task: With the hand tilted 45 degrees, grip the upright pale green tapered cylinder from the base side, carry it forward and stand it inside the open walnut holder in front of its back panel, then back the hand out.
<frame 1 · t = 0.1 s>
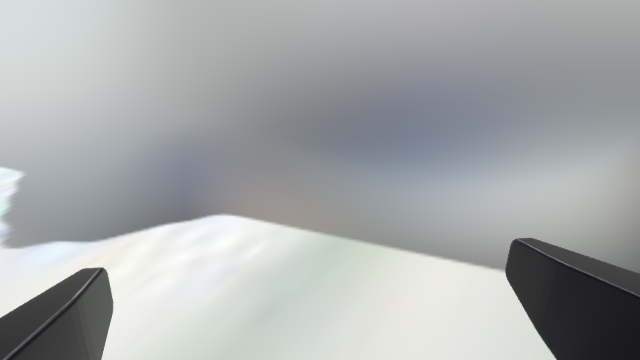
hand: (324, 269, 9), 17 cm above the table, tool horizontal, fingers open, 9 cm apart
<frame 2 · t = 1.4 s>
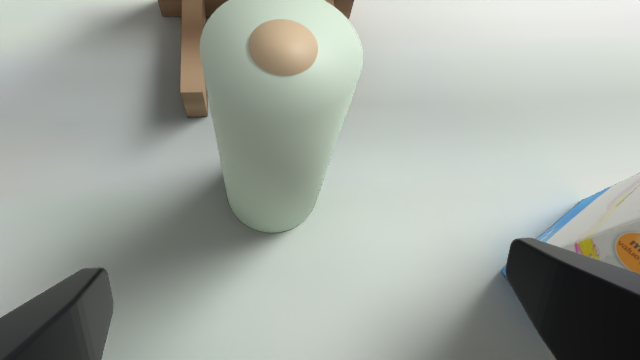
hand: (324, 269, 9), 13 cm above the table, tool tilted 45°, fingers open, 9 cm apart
holder: (262, 58, 28), on the table
ink box: (591, 292, 25), on the table
pale green tapered cylinder: (272, 189, 24), on the table
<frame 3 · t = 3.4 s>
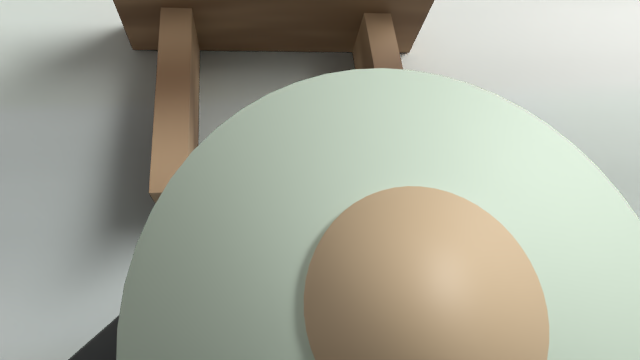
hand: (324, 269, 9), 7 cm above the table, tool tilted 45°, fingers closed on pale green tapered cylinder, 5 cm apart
holder: (283, 116, 18), on the table
pale green tapered cylinder: (301, 347, 15), on the table, touching gripper
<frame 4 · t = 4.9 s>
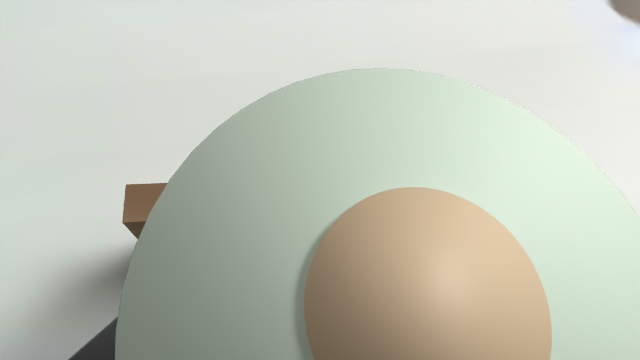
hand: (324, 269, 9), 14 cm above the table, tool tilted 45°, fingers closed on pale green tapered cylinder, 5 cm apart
holder: (286, 322, 22), on the table
pale green tapered cylinder: (302, 348, 15), point 8 cm above the table, touching gripper
when the fingers open (8 cm above the table, at t = 6.8 s): pale green tapered cylinder drops 1 cm, resting in holder.
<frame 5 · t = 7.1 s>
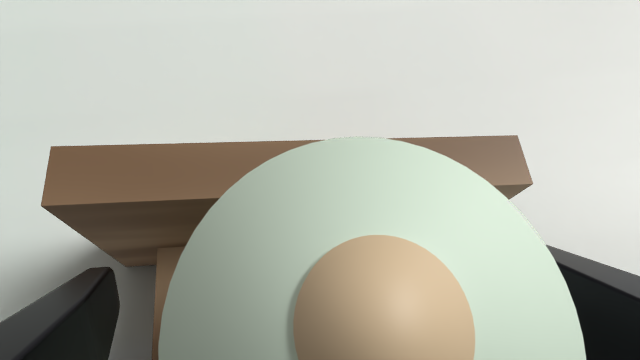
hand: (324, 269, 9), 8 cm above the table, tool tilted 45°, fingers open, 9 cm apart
holder: (298, 348, 16), on the table
pale green tapered cylinder: (298, 351, 16), resting in holder
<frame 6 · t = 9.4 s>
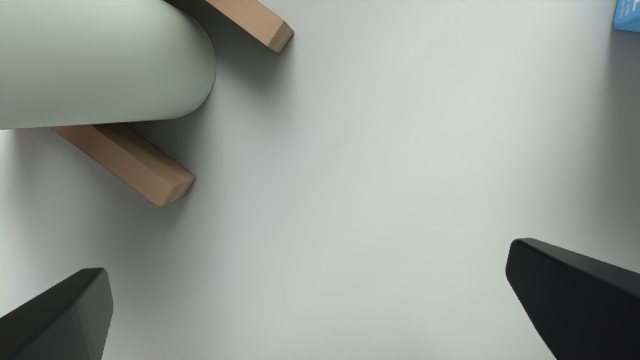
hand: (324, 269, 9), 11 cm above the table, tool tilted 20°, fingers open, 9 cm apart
holder: (161, 62, 20), on the table
pale green tapered cylinder: (163, 64, 20), resting in holder
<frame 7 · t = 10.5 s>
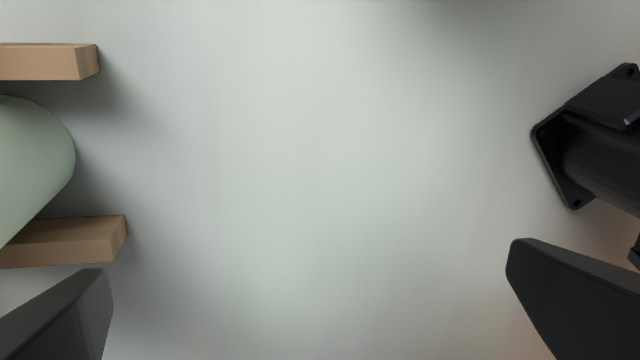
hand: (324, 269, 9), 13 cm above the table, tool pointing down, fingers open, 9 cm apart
holder: (12, 150, 19), on the table
pale green tapered cylinder: (15, 151, 19), resting in holder
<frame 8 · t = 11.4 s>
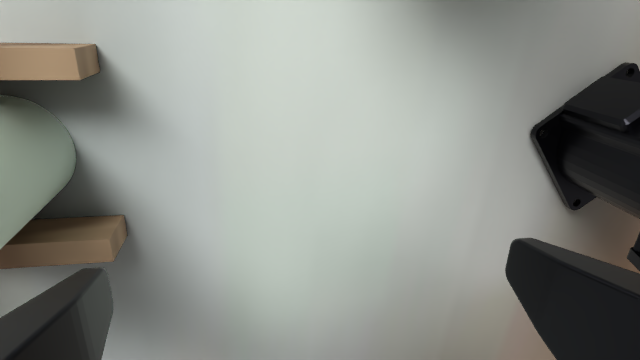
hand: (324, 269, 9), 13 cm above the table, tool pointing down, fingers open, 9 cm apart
holder: (12, 150, 19), on the table
pale green tapered cylinder: (14, 151, 19), resting in holder
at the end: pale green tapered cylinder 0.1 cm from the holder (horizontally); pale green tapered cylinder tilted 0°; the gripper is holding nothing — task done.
